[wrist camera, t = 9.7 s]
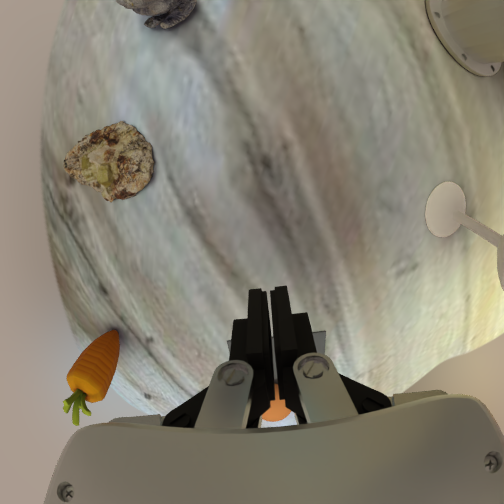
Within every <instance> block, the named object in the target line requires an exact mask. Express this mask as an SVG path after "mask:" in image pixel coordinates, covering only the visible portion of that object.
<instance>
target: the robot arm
mask: <svg viewBox="0 0 504 504" xmlns="http://www.w3.org/2000/svg"><path fill="white" fill-rule="evenodd" d="M426 10H427V13H428V17H429V20H430V22H431V24H432V27H433V29H434V30H435V32H436V34H437V36H438V38H439V39H440V41H441V42H442V44H443V45H444V47H445V48H446V49H447V50H448V52H449V53H450V54H451V55H452V56H453V57H454V59H455V60H456V61H457V62H458V63H460V64H461V65H462V66H463V67H464V68H465V69H467V70H468V71H470V72H471V73H474V74H476V75H479V76H492V75H495V74H496V73H497V72H498V71H499V69H500V67H501V63H502V62H504V0H426ZM270 296H271V309H272V322H273V336H274V350H275V360H276V370H277V379H278V389H279V399H280V400H284V399H285V407H286V408H288V409H289V410H291V411H293V412H294V413H295V419H296V422H297V425H291V426H281V427H268V428H261V423H262V414H264V413H265V412H266V411H267V410H268V409H269V408H271V404H270V401H274V400H275V384H274V366H273V350H272V336H271V327H270V319H269V310H268V301H267V293H266V291H262V290H261V288H260V289H250V290H249V298H248V319H236V320H234V322H233V330H232V339H231V348H230V357H229V361H227V362H224V363H222V364H221V365H219V366H218V367H217V368H216V370H215V371H214V374H213V376H212V379H211V382H210V385H209V386H208V387H207V388H205V389H204V390H202V391H201V392H199V393H198V394H197V395H195V396H194V397H192V398H191V399H189V400H188V401H186V402H184V403H183V404H181V405H180V406H178V407H177V408H175V409H174V410H172V411H171V412H169V413H168V414H167V415H166V416H162V417H161V415H160V414H158V415H148V416H136V417H121V418H115V419H113V420H111V421H109V423H100V424H94V425H89V426H86V427H83V428H81V429H79V430H77V431H76V432H75V433H74V434H73V435H72V436H71V438H70V439H69V441H68V442H67V444H66V446H65V448H64V449H63V451H62V453H61V456H60V458H59V460H58V463H57V465H56V467H55V470H54V473H53V475H52V478H51V481H50V484H49V488H48V491H47V494H46V498H45V501H44V504H504V436H503V434H502V432H501V430H500V428H499V426H498V424H497V422H496V420H495V419H494V417H493V415H492V414H491V413H490V411H489V410H488V408H487V407H486V406H485V405H484V404H483V403H482V402H481V401H480V400H479V399H477V398H476V397H473V396H470V395H463V394H447V393H446V392H444V391H442V390H432V391H422V392H412V393H400V394H393V397H387V396H386V395H384V394H383V393H381V392H378V391H376V390H374V389H371V388H369V387H367V386H365V385H363V384H360V383H358V382H356V381H354V380H352V379H349V378H347V377H345V376H343V375H341V374H339V373H338V372H337V370H336V368H335V366H334V364H333V362H332V360H331V359H330V358H329V357H328V356H326V355H324V354H321V353H317V350H316V346H315V342H314V338H313V333H312V329H311V325H310V321H309V317H308V314H307V312H306V313H297V314H292V313H291V307H290V301H289V296H288V290H287V286H279V287H275V290H272V291H270Z"/></svg>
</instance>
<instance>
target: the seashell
mask: <svg viewBox="0 0 504 504" xmlns="http://www.w3.org/2000/svg"><path fill="white" fill-rule="evenodd" d="M116 2H117V3H119V4H120V5H122V6H124V7H125V8H127V9H132V10H133V11H135V12H136V13H138V14H141V15H152V17H151V18H149V19H148V20H147V21H145V23H144V25H145V26H147V27H150V28H152V27H154V28H155V27H156V26H157V25H159V24H160V26H161V27H162V28H164V29H165V28H169V27H172V26H174V25H176V24H177V23H179V22H180V21H182V20H185V19H186V17H187V16H189V14H190V13H191V11H192V10H194V9H193V8H194V7H195V5H196V2H197V1H196V0H116ZM162 13H165V14H162ZM157 14H162V15H160V16H155V15H157Z"/></svg>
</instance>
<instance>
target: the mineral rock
mask: <svg viewBox="0 0 504 504" xmlns="http://www.w3.org/2000/svg"><path fill="white" fill-rule="evenodd" d="M154 163H155V162H154V161H153V158H152V146H151V144H150V143H148V142H147V141H145V138H144V137H143V136H142V135H141V134H140V133H139V132H138V131H136V128H135V127H133V126H132V125H129V124H126V123H124V122H123V121H120V122H119V123H116V124H112V125H111V126H106V127H104V128H103V129H102V130H96V131H95V132H92V133H91V134H90V135H86V136H85V137H84V138H83V139H82V140H81V141H78V144H77V145H75V146H74V148H73V149H72V150H70V151H69V152H67V155H66V158H65V160H64V165H63V167H64V169H65V171H66V172H67V173H69V175H70V177H73V178H75V179H76V180H77V181H78V182H80V183H81V184H84V185H87V186H91V187H93V188H94V189H95V190H96V191H97V192H101V193H102V196H103V198H104V199H105V200H107V201H110V202H112V201H113V200H114V199H122V200H124V199H127V198H130V197H132V196H135V195H136V193H137V192H138V191H140V190H142V189H143V188H144V187H145V186H146V185H147V184H148V183H149V181H150V178H151V177H152V173H153V172H154V171H153V165H154Z"/></svg>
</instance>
